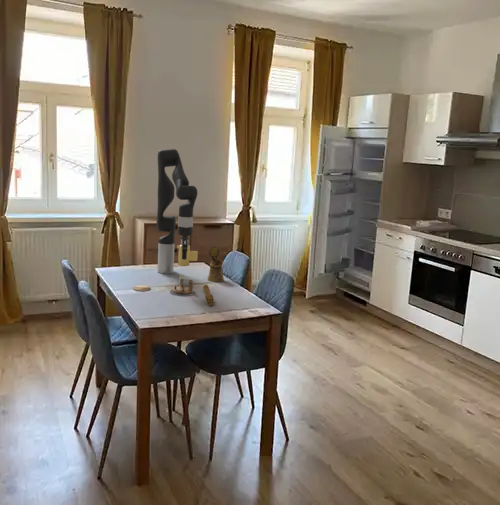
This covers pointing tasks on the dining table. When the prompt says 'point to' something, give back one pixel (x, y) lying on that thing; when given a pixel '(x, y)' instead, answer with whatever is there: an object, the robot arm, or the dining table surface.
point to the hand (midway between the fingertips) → (184, 257)
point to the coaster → (141, 288)
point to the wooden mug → (215, 266)
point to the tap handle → (208, 296)
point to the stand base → (182, 294)
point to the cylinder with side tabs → (190, 256)
